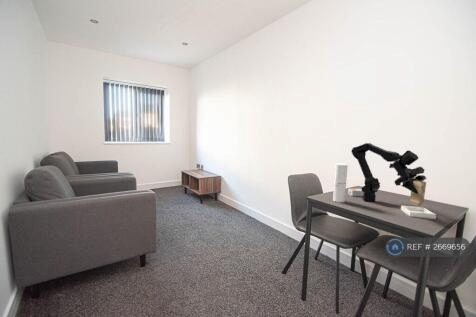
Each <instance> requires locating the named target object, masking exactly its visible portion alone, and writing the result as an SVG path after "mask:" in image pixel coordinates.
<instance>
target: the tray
mask: <svg viewBox="0 0 476 317" xmlns="http://www.w3.org/2000/svg"><path fill="white" fill-rule="evenodd" d="M400 210H401V211H402V213H405V214H406V215H407V216H408V217H410V218H418V219H419V218H420V219H429V220H436V218H437V214H436V213H434V212H432V211H430V210H429V209H427V208H426V207H421V206H412V205H411V206H410V205H400Z"/></svg>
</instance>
